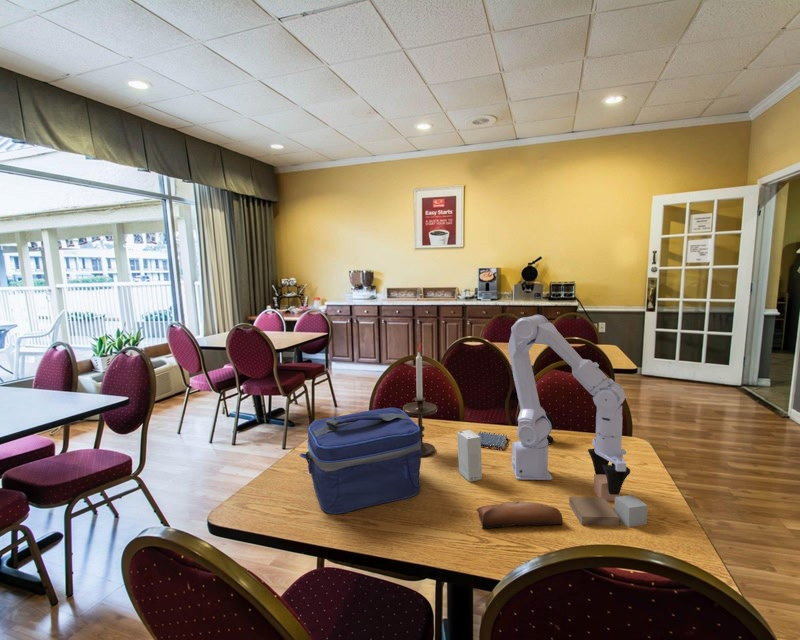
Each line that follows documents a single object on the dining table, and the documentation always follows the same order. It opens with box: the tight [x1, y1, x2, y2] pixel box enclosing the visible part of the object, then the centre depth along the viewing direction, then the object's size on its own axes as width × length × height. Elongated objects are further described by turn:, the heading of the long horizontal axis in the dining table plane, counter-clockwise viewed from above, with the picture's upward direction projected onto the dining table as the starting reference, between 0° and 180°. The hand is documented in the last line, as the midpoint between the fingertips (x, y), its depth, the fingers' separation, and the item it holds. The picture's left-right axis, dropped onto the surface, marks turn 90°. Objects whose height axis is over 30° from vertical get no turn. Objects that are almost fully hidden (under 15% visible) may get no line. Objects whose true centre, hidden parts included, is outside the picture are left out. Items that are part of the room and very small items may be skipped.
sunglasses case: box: [476, 500, 564, 529], centre depth 93 cm, size 18×7×7 cm, turn 92°
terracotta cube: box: [593, 473, 621, 502], centre depth 101 cm, size 4×4×4 cm
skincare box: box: [457, 429, 483, 483], centre depth 112 cm, size 6×4×12 cm
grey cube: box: [613, 494, 648, 528], centre depth 91 cm, size 4×4×4 cm
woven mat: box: [477, 430, 509, 451], centre depth 135 cm, size 10×11×2 cm
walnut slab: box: [568, 496, 620, 527], centre depth 93 cm, size 8×8×2 cm
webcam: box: [545, 411, 555, 445], centre depth 135 cm, size 8×8×10 cm
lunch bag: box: [299, 407, 423, 515], centre depth 107 cm, size 31×21×20 cm
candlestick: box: [402, 343, 438, 458], centre depth 128 cm, size 11×11×35 cm
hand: (607, 485), depth 101 cm, fingers open, 7 cm apart
